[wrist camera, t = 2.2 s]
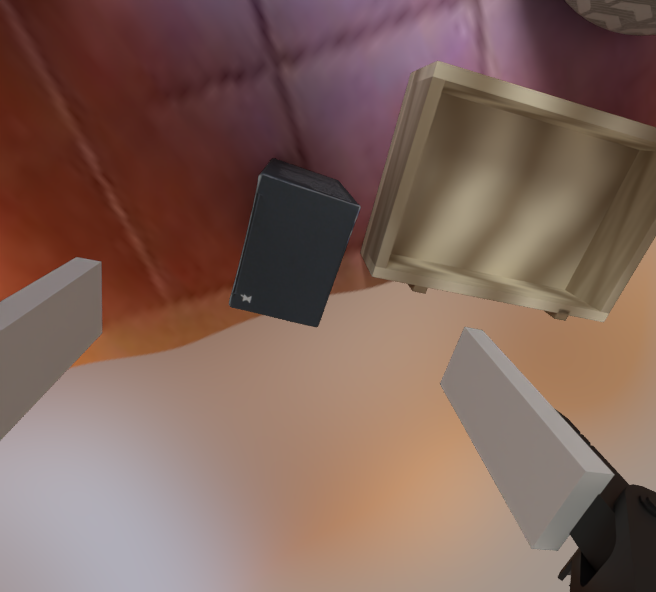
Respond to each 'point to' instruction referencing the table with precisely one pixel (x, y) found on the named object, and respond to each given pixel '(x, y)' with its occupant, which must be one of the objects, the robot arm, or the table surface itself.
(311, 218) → the box
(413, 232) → the crate
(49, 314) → the robot arm
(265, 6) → the table surface
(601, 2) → the planter
